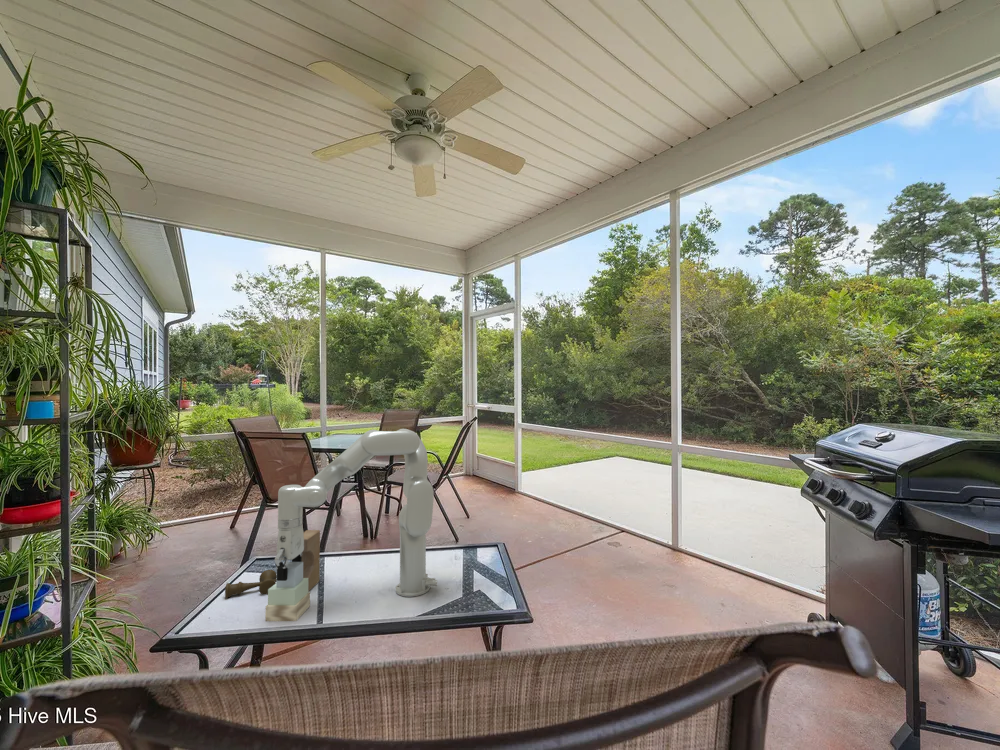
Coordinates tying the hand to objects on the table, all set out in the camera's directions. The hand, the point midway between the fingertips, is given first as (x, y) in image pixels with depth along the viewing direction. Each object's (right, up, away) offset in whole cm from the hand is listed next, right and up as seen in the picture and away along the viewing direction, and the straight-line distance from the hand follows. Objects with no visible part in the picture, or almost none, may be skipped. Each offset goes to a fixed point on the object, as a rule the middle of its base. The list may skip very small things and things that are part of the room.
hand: (289, 574), depth 145 cm
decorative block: (-3, -14, +18) cm, 23 cm away
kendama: (-20, -14, +16) cm, 29 cm away
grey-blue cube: (0, -3, 0) cm, 3 cm away
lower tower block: (0, -13, -1) cm, 13 cm away
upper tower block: (0, -8, 0) cm, 8 cm away
